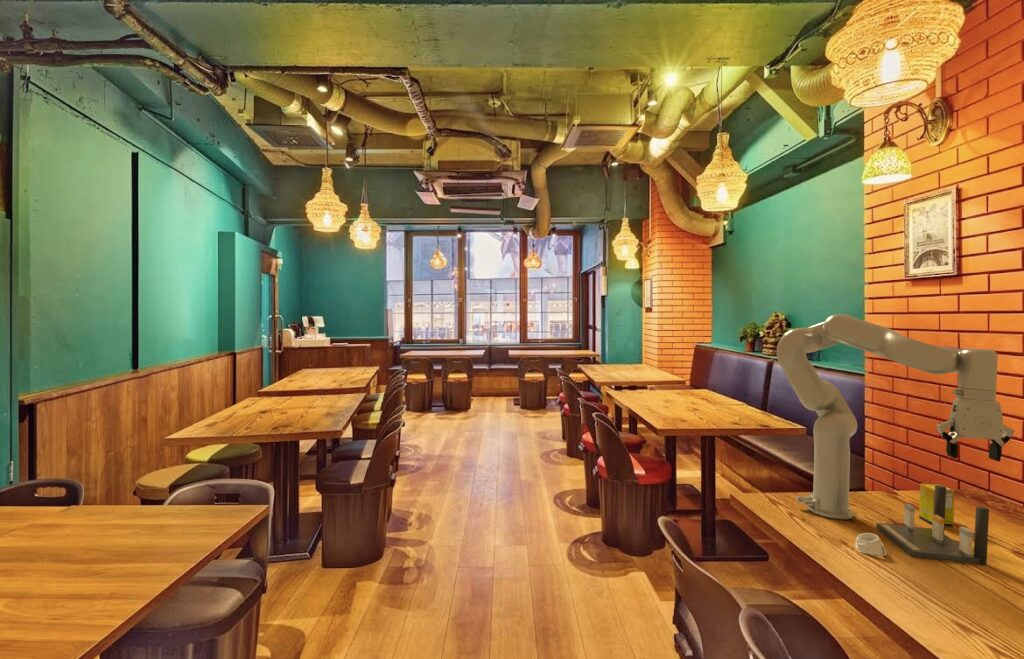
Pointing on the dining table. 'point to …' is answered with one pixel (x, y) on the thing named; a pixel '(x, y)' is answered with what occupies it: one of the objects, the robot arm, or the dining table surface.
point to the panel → (925, 544)
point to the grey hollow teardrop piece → (870, 544)
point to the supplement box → (928, 504)
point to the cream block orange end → (937, 527)
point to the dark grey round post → (980, 523)
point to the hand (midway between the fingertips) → (973, 458)
